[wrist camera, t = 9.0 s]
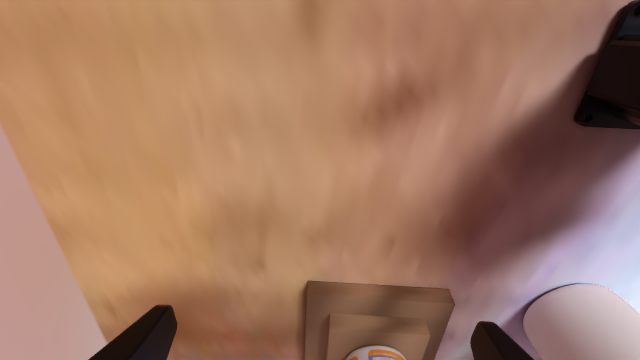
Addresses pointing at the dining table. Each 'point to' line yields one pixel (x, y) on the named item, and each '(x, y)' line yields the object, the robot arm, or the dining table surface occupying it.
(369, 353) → the pill bottle
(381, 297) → the walnut stand
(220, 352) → the dining table surface
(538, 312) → the pill bottle
